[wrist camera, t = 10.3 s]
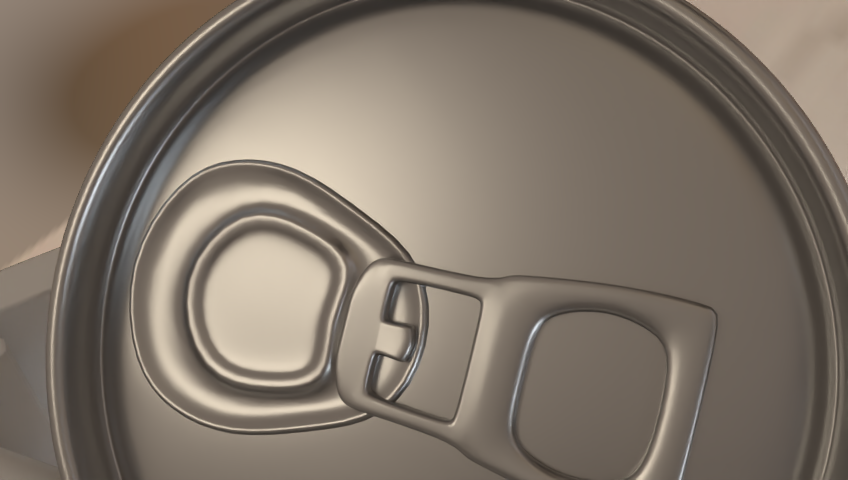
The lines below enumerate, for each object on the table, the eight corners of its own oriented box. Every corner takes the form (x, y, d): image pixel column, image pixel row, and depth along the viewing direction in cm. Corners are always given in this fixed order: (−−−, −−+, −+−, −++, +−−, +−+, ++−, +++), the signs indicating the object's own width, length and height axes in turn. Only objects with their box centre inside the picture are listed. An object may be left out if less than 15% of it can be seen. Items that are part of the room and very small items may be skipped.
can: (453, 134, 18) (111, -180, 6) (762, 196, 16) (1111, -69, 4) (383, 420, 18) (-98, 660, 6) (685, 513, 16) (830, 1101, 4)
